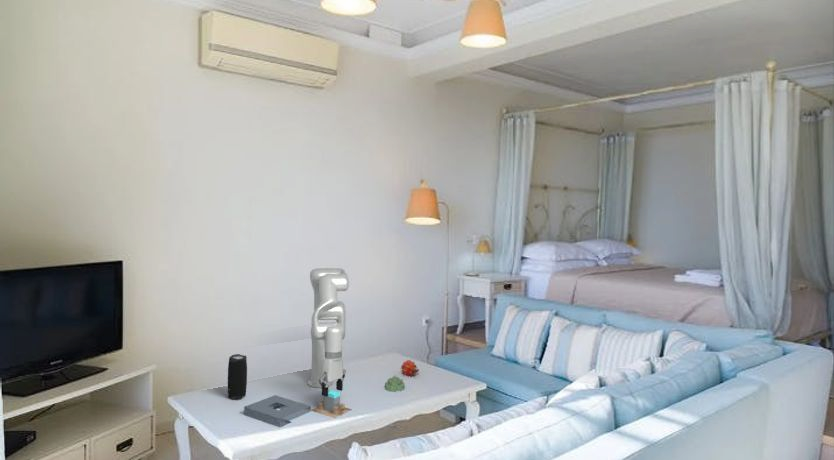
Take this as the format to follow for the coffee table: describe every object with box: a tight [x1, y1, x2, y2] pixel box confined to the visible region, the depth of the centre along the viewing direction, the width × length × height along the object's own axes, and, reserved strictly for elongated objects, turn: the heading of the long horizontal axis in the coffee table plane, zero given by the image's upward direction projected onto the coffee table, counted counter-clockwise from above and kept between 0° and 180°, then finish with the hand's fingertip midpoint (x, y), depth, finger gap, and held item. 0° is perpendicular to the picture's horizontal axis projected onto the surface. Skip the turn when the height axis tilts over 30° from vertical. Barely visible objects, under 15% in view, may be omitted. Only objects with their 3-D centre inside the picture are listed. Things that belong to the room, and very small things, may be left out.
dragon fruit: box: [400, 359, 420, 378], centre depth 299 cm, size 8×8×12 cm
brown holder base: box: [311, 400, 353, 419], centre depth 243 cm, size 12×14×4 cm
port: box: [243, 394, 312, 428], centre depth 238 cm, size 18×22×4 cm
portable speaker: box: [227, 353, 248, 401], centre depth 256 cm, size 9×9×20 cm
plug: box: [323, 389, 341, 413], centre depth 243 cm, size 4×6×8 cm, turn 58°
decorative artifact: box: [384, 374, 406, 393], centre depth 277 cm, size 10×7×10 cm
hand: (332, 392), depth 242 cm, fingers open, 9 cm apart
